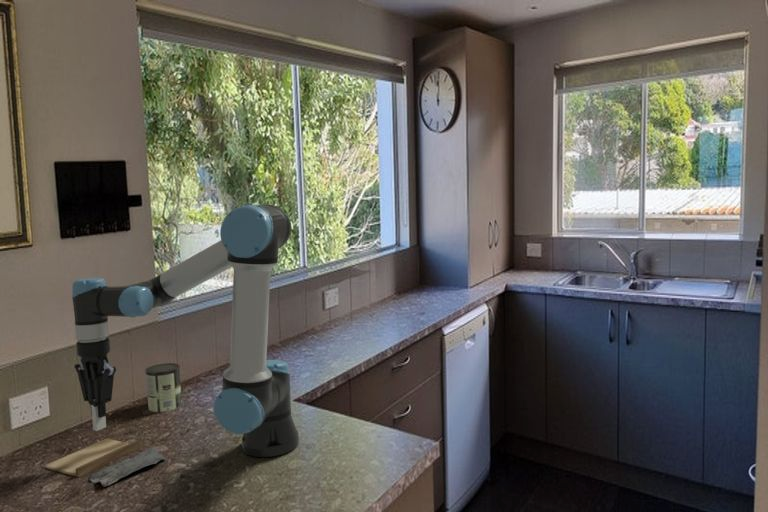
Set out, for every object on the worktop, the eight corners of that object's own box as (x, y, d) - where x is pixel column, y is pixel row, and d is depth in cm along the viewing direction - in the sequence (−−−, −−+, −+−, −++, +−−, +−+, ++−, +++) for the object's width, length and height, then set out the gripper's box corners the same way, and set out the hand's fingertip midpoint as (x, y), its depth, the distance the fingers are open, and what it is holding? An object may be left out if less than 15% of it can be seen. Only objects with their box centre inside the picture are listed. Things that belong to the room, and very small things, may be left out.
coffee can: (168, 402, 191) (166, 361, 190) (189, 408, 185) (186, 365, 184) (141, 412, 182) (138, 369, 181) (161, 418, 177) (158, 374, 175)
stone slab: (150, 445, 153) (172, 452, 147) (151, 452, 153) (173, 459, 147) (82, 474, 138) (104, 483, 132) (83, 482, 138) (105, 491, 133)
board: (139, 448, 155) (139, 440, 155) (78, 477, 139) (78, 469, 139) (106, 440, 161) (106, 433, 161) (44, 467, 145) (44, 460, 145)
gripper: (123, 337, 146) (129, 426, 148) (89, 333, 152) (95, 419, 154) (97, 344, 140) (104, 437, 142) (62, 340, 145) (69, 430, 147)
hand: (99, 428), depth 148 cm, fingers closed
